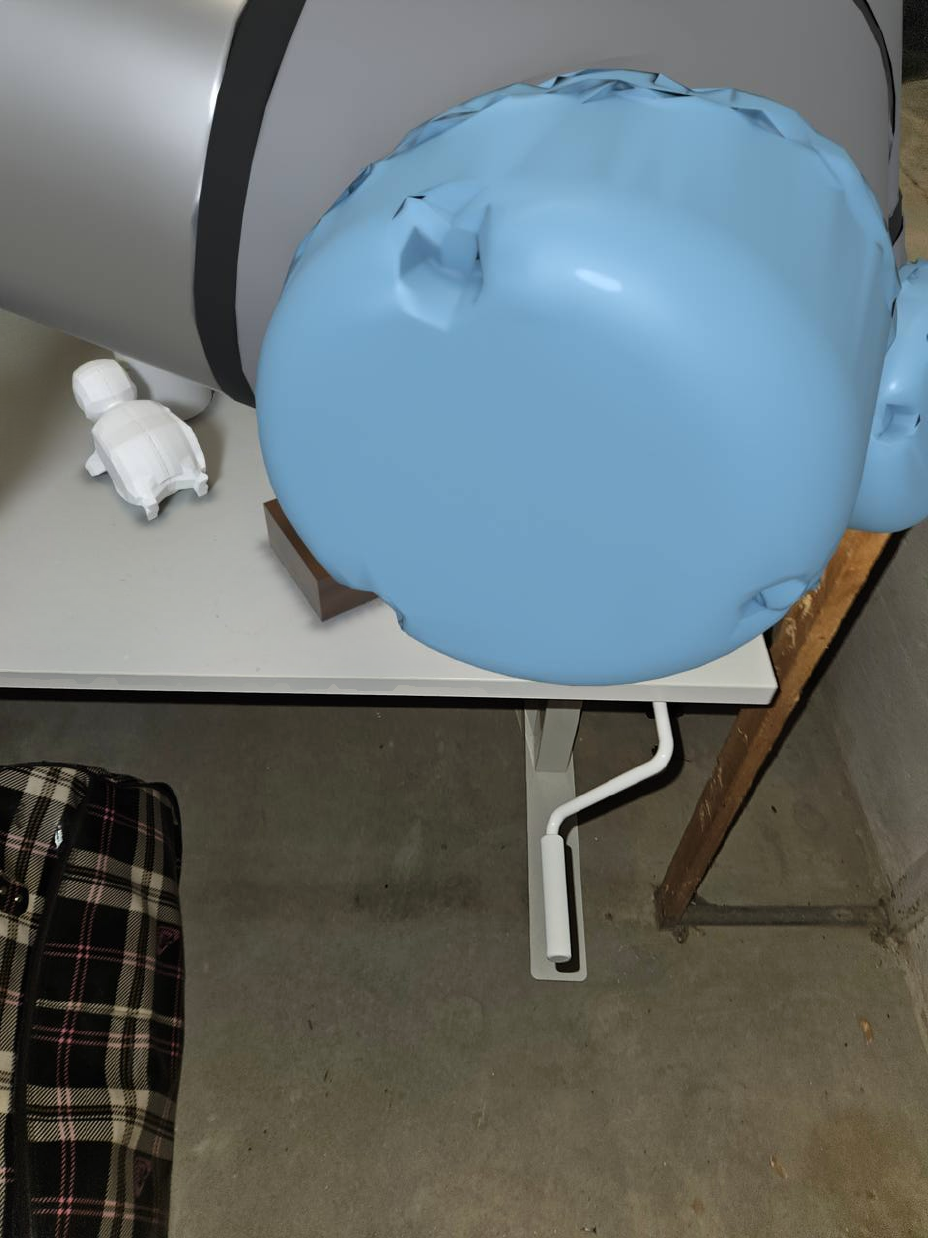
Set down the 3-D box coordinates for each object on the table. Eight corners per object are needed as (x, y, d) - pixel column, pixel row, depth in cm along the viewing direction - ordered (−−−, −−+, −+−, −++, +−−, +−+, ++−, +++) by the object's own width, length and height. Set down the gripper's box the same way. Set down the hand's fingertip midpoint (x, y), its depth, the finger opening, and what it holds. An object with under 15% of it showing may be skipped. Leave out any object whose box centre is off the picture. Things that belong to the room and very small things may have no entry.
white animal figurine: (219, 504, 84) (134, 384, 86) (222, 456, 77) (130, 326, 79) (136, 543, 80) (50, 417, 82) (131, 498, 73) (37, 360, 75)
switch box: (407, 585, 75) (407, 533, 70) (322, 622, 72) (315, 570, 67) (351, 513, 80) (348, 460, 75) (269, 545, 77) (260, 492, 72)
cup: (125, 379, 91) (93, 270, 81) (206, 368, 93) (183, 260, 83) (131, 428, 86) (98, 318, 77) (216, 416, 88) (193, 306, 78)
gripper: (485, 537, 35) (203, 435, 51) (662, 318, 39) (346, 286, 55) (395, 398, 30) (112, 332, 46) (608, 158, 33) (276, 173, 49)
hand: (239, 307), depth 50 cm, fingers closed
